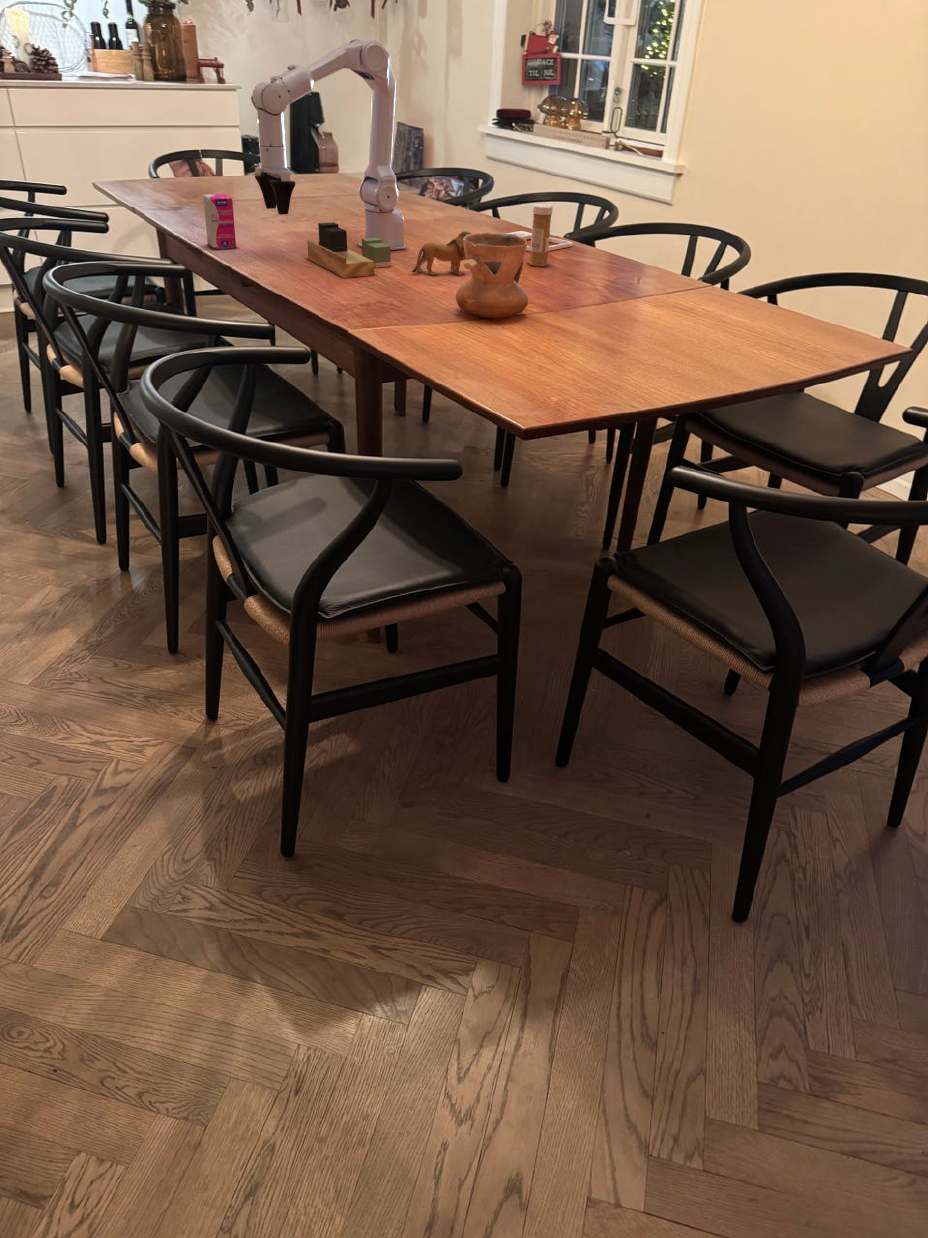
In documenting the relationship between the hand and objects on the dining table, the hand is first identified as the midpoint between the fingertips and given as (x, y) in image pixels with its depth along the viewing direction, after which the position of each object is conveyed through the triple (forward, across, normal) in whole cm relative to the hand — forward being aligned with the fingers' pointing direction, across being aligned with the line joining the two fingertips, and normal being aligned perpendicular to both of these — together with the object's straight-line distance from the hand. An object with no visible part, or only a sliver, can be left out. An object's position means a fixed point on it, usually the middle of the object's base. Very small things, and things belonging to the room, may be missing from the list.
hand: (277, 211), depth 205 cm
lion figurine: (+10, +28, +29) cm, 42 cm away
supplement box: (+10, -15, -9) cm, 20 cm away
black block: (+7, +9, +10) cm, 15 cm away
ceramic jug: (+10, +61, +21) cm, 65 cm away
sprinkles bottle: (+10, +29, +55) cm, 63 cm away
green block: (+10, +14, +18) cm, 25 cm away
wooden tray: (+10, +14, +9) cm, 20 cm away
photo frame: (+10, +8, +67) cm, 68 cm away
